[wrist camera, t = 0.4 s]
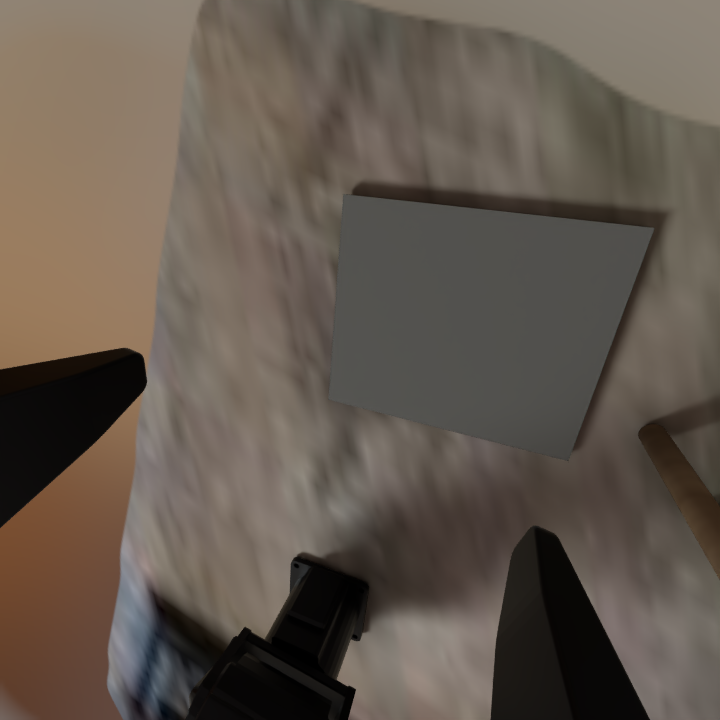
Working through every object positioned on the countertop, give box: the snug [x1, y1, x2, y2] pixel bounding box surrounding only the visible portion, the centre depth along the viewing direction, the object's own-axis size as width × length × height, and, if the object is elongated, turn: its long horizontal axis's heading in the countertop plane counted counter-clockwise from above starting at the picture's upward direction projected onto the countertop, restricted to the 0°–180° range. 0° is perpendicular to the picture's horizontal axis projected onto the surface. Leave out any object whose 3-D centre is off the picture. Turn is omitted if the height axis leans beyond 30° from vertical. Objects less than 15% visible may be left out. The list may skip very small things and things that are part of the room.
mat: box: [329, 194, 654, 461], centre depth 21 cm, size 12×14×1 cm
